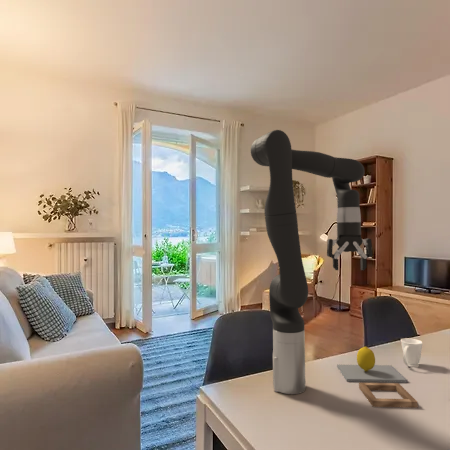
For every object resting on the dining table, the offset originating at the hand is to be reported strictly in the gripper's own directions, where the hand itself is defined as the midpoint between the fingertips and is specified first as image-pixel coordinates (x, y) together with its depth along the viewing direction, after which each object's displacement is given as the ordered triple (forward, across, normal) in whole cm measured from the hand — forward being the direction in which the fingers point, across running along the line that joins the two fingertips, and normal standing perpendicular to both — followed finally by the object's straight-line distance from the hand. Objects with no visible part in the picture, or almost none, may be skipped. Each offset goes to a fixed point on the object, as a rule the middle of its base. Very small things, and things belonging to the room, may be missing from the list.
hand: (349, 270), depth 118 cm
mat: (+33, +5, -3) cm, 34 cm away
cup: (+33, +21, +5) cm, 40 cm away
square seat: (+33, +4, -19) cm, 38 cm away
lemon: (+32, +4, -3) cm, 33 cm away
